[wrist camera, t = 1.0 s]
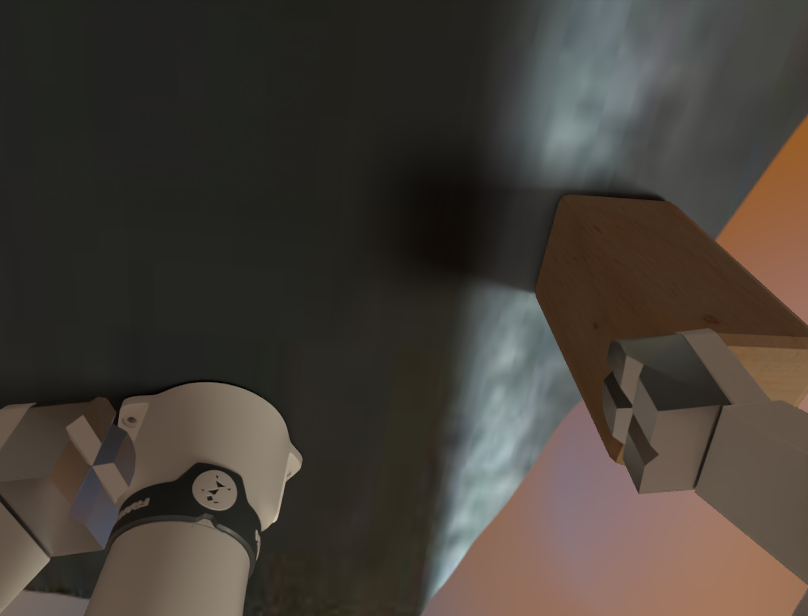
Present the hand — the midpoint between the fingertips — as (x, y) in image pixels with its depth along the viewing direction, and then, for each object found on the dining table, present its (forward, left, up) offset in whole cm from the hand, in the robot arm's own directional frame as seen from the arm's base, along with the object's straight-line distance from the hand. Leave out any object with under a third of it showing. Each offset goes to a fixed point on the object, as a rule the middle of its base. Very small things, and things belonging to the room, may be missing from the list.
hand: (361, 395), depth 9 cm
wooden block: (-4, -26, -35) cm, 44 cm away
